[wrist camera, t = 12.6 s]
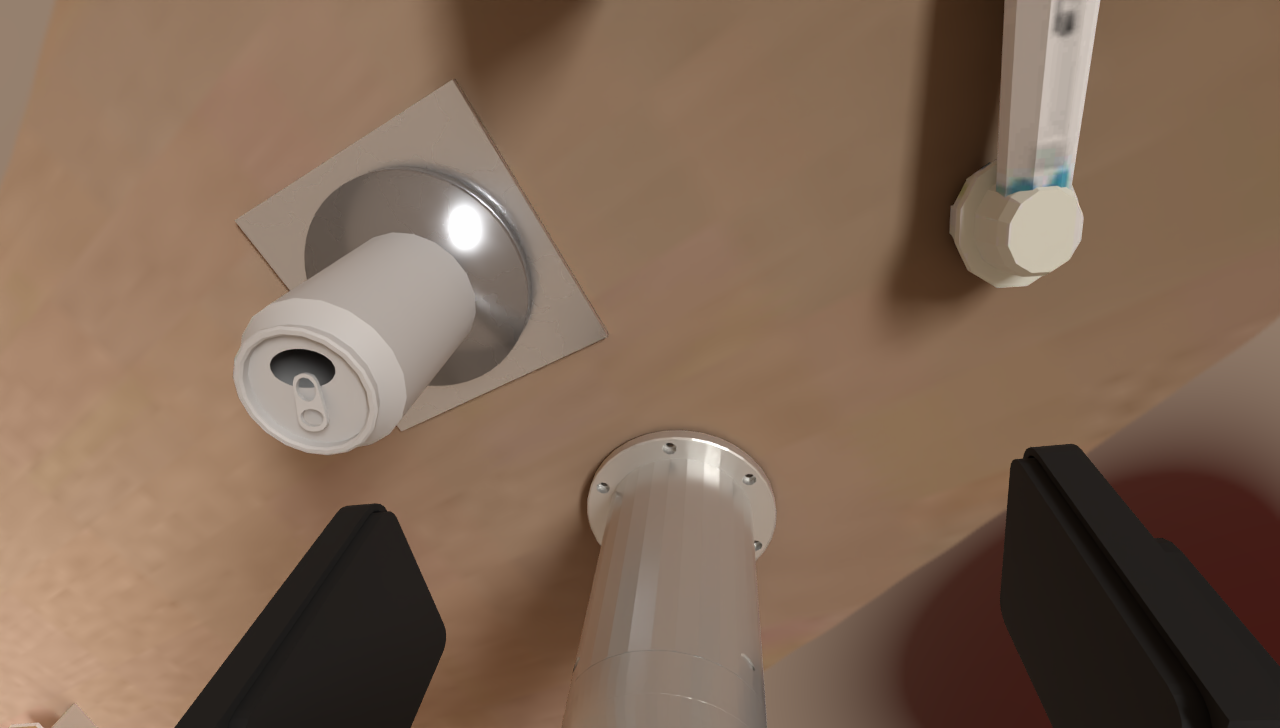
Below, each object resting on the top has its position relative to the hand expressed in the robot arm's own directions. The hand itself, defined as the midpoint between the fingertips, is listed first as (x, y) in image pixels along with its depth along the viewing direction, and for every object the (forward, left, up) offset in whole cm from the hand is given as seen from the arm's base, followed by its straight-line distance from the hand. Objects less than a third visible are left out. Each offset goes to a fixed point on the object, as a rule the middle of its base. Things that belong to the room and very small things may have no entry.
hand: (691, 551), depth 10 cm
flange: (-4, +17, -28) cm, 33 cm away
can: (-4, +17, -27) cm, 32 cm away
